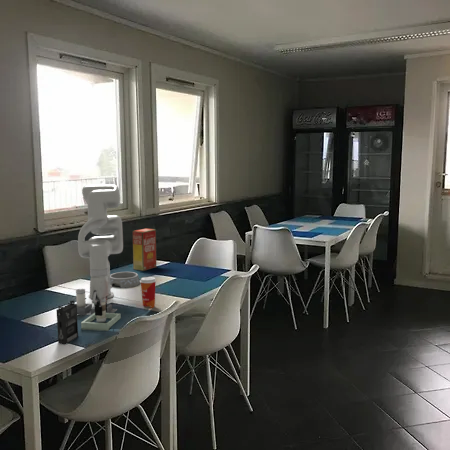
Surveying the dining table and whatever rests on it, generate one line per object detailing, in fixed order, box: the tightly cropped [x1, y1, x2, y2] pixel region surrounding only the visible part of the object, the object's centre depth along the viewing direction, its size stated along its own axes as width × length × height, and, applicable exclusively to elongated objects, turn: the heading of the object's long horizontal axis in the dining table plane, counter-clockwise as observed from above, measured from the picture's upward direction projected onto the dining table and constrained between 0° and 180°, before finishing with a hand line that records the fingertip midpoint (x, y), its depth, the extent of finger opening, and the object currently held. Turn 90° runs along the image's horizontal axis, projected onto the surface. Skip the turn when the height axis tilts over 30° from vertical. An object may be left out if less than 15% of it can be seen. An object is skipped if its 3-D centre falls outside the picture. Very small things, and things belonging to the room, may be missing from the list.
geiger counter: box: [56, 300, 79, 346], centre depth 200 cm, size 10×4×15 cm, turn 163°
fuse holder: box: [77, 303, 118, 316], centre depth 234 cm, size 10×22×4 cm, turn 80°
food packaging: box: [132, 227, 157, 272], centre depth 324 cm, size 13×9×25 cm
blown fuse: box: [95, 297, 107, 323], centre depth 217 cm, size 4×4×10 cm
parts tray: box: [80, 312, 122, 332], centre depth 218 cm, size 14×12×3 cm
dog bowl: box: [110, 271, 141, 289], centre depth 287 cm, size 17×18×5 cm
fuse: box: [75, 288, 87, 308], centre depth 234 cm, size 4×4×10 cm
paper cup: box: [140, 276, 157, 309], centre depth 243 cm, size 8×8×14 cm
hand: (101, 313), depth 218 cm, fingers closed on blown fuse, 4 cm apart
